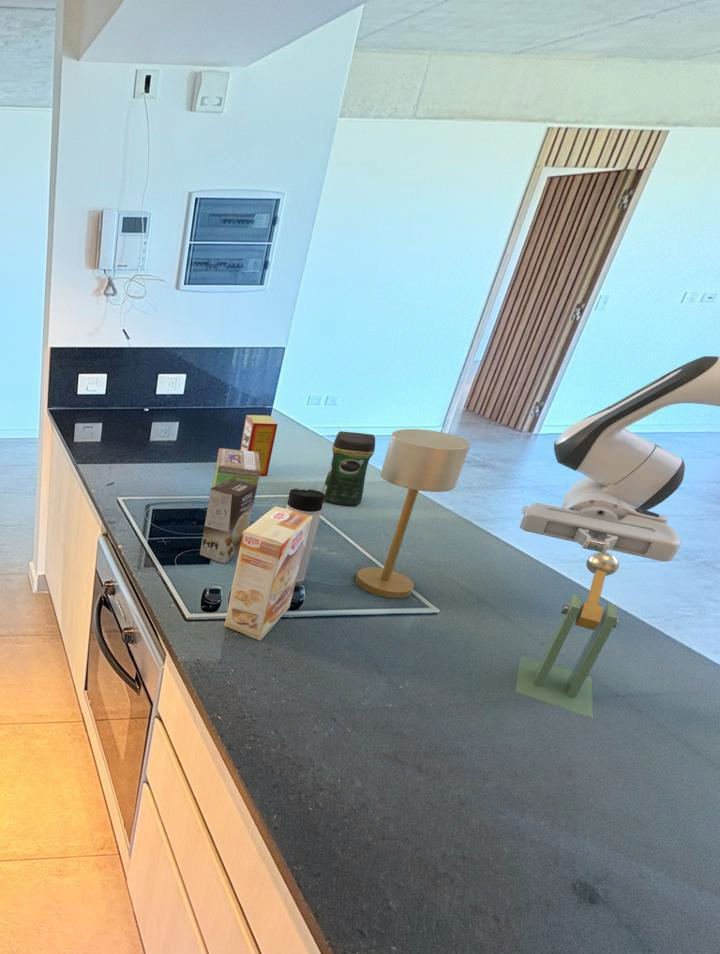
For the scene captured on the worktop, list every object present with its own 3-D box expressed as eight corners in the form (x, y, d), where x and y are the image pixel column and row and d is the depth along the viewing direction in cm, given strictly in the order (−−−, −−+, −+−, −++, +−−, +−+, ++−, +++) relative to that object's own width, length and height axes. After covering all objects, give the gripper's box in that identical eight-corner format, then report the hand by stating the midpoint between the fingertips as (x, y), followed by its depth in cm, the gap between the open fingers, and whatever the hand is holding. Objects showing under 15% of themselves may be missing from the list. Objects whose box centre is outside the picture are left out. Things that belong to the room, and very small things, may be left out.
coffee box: (225, 565, 133) (238, 496, 126) (198, 555, 137) (209, 488, 130) (245, 551, 139) (258, 484, 132) (218, 542, 143) (230, 477, 136)
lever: (585, 558, 97) (593, 544, 94) (615, 565, 95) (625, 551, 92) (566, 625, 92) (575, 613, 89) (598, 634, 90) (608, 622, 87)
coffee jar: (359, 498, 166) (378, 431, 158) (360, 508, 160) (380, 439, 151) (320, 492, 170) (336, 426, 161) (319, 502, 163) (336, 435, 155)
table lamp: (389, 569, 131) (434, 427, 117) (431, 598, 121) (487, 447, 107) (337, 573, 130) (377, 430, 116) (376, 603, 119) (425, 450, 105)
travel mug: (274, 586, 125) (295, 495, 116) (267, 570, 131) (287, 483, 122) (307, 589, 124) (330, 497, 115) (298, 572, 130) (320, 484, 121)
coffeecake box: (260, 642, 108) (283, 543, 99) (222, 626, 112) (240, 530, 104) (291, 607, 118) (314, 515, 109) (255, 594, 122) (274, 504, 113)
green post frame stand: (517, 660, 103) (555, 579, 96) (588, 683, 98) (633, 599, 91) (512, 698, 95) (553, 612, 88) (589, 724, 90) (639, 636, 83)
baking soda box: (237, 464, 190) (246, 413, 183) (259, 465, 190) (269, 414, 182) (244, 475, 182) (253, 422, 175) (266, 476, 181) (277, 423, 174)
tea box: (250, 526, 150) (261, 469, 144) (207, 521, 153) (216, 465, 146) (249, 503, 163) (259, 450, 156) (209, 499, 166) (218, 446, 159)
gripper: (528, 490, 116) (524, 513, 107) (680, 518, 105) (690, 547, 95) (516, 520, 119) (511, 545, 110) (662, 551, 107) (670, 582, 98)
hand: (595, 546), depth 102 cm, fingers closed
